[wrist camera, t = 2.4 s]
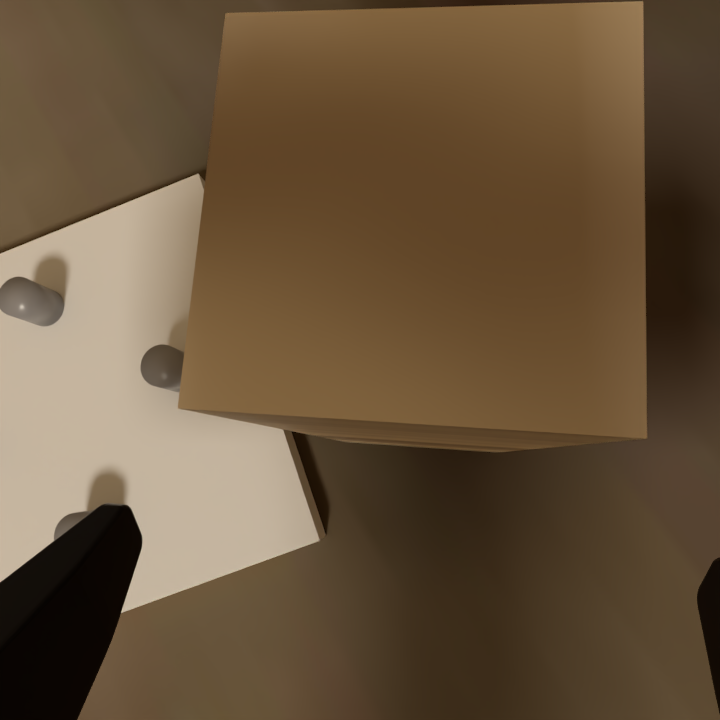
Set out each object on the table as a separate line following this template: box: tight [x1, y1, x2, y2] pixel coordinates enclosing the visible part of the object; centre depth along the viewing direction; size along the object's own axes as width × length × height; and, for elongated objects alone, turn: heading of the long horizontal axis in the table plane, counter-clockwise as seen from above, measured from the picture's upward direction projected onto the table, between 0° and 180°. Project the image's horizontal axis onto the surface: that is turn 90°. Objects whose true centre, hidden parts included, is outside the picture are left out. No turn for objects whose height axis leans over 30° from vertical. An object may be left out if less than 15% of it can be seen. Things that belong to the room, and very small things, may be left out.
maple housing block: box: [177, 1, 647, 453], centre depth 14 cm, size 5×5×14 cm
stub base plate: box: [0, 174, 326, 613], centre depth 20 cm, size 14×14×3 cm
